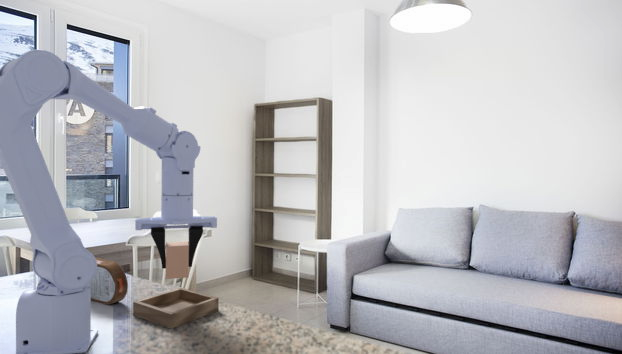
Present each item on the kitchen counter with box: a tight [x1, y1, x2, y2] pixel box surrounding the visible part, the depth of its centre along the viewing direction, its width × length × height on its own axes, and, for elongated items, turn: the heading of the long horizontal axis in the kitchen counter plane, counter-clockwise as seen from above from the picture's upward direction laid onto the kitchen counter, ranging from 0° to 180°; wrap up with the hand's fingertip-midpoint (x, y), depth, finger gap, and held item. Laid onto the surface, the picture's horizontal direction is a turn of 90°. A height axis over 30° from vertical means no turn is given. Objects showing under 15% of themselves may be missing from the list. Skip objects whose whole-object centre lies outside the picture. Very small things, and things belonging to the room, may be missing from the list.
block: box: [165, 241, 190, 280], centre depth 80 cm, size 4×4×6 cm
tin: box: [90, 256, 129, 305], centre depth 87 cm, size 15×3×8 cm, turn 61°
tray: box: [132, 287, 220, 330], centre depth 80 cm, size 11×11×2 cm
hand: (176, 266), depth 80 cm, fingers closed on block, 4 cm apart
